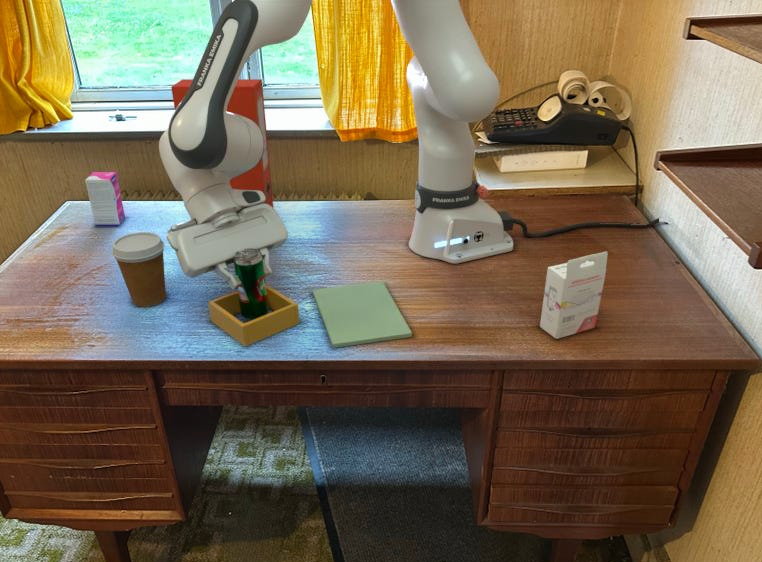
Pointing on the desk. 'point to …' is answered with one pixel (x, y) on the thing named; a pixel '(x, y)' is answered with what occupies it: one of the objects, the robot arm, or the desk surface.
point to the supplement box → (105, 199)
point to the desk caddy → (259, 327)
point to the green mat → (360, 314)
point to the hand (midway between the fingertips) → (253, 281)
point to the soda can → (251, 283)
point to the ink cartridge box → (573, 295)
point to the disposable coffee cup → (142, 266)
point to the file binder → (251, 106)
